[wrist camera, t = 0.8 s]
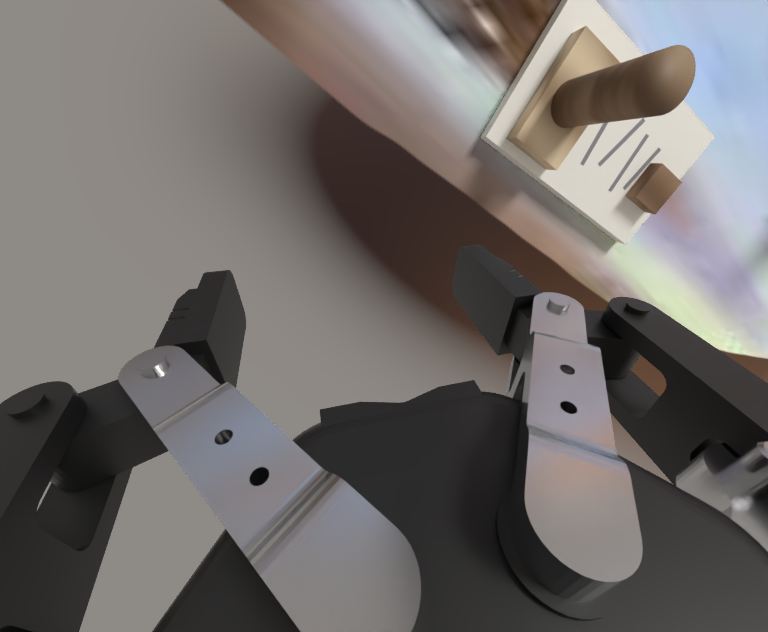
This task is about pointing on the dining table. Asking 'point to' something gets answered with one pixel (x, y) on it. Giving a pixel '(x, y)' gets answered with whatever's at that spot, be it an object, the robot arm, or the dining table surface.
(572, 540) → the robot arm
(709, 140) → the board
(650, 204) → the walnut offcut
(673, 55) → the block
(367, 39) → the dining table surface
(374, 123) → the dining table surface
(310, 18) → the dining table surface
